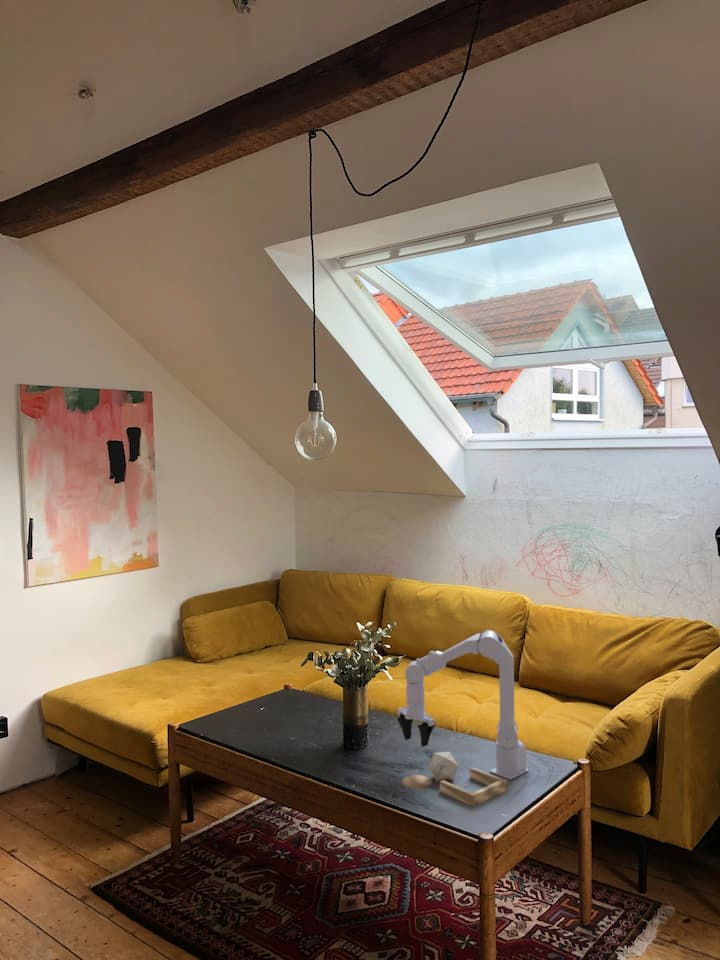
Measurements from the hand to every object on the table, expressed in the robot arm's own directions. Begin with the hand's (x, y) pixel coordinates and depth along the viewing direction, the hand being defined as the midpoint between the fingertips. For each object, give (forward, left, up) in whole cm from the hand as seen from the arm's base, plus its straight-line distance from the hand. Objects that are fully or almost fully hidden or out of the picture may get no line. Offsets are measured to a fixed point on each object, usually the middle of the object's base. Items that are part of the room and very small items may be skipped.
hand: (416, 742), depth 247 cm
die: (0, +12, -8) cm, 14 cm away
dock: (0, +23, -8) cm, 24 cm away
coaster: (+7, +8, -8) cm, 14 cm away
